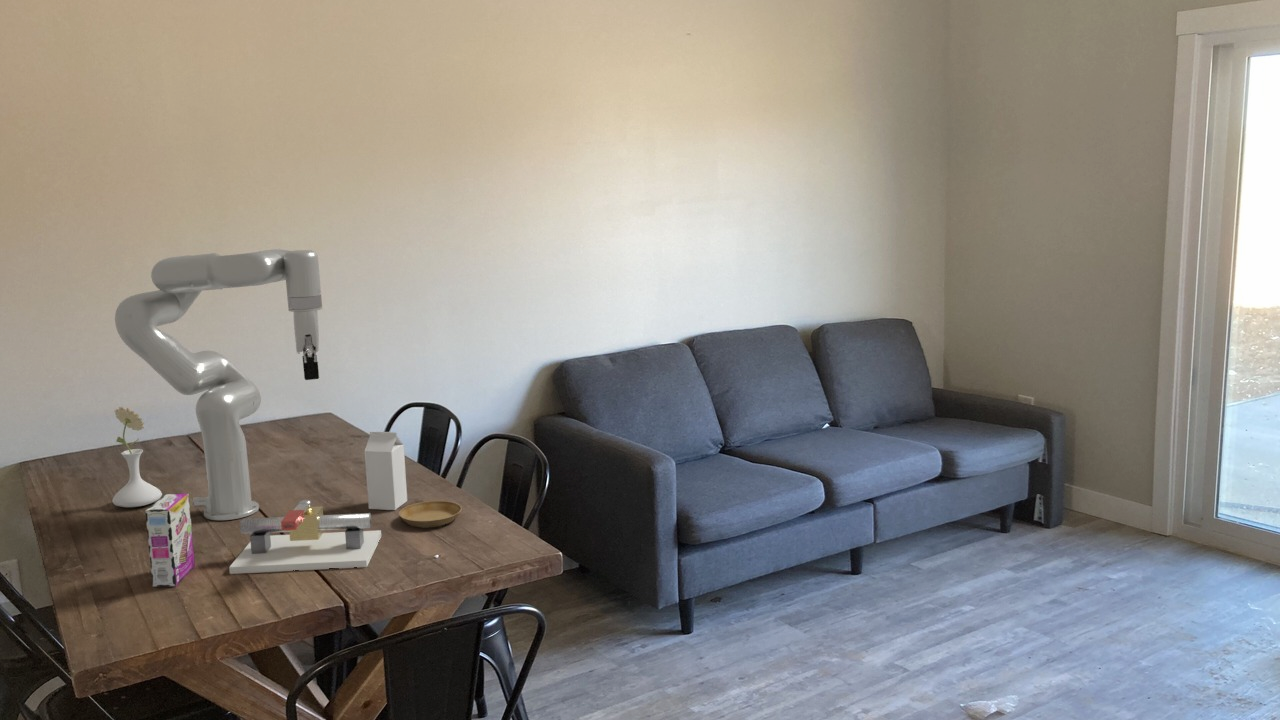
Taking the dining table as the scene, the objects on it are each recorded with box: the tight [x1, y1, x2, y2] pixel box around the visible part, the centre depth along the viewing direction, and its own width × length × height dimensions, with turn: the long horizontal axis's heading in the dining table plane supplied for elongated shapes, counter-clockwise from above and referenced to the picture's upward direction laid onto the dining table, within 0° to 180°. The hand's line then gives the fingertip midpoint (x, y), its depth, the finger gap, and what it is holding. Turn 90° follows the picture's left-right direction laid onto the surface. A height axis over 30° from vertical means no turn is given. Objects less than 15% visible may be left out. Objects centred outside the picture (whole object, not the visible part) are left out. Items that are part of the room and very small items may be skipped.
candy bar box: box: [144, 493, 196, 588], centre depth 204 cm, size 11×5×16 cm, turn 5°
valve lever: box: [281, 499, 312, 530], centre depth 208 cm, size 3×15×2 cm, turn 5°
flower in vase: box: [112, 406, 163, 508], centre depth 251 cm, size 13×11×25 cm
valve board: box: [228, 529, 382, 575], centre depth 216 cm, size 28×18×2 cm, turn 95°
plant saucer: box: [398, 500, 463, 529], centre depth 236 cm, size 15×15×3 cm
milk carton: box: [364, 430, 408, 511], centre depth 246 cm, size 7×7×19 cm
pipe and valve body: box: [239, 505, 372, 554], centre depth 215 cm, size 27×6×9 cm, turn 95°
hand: (311, 375), depth 234 cm, fingers open, 9 cm apart
